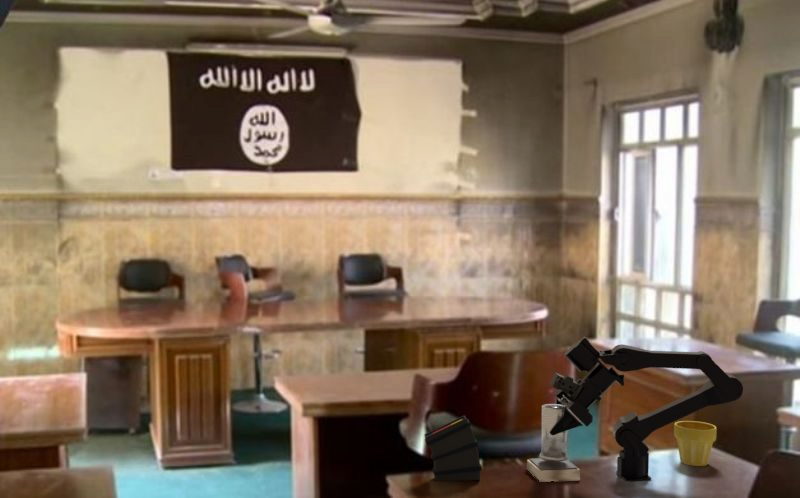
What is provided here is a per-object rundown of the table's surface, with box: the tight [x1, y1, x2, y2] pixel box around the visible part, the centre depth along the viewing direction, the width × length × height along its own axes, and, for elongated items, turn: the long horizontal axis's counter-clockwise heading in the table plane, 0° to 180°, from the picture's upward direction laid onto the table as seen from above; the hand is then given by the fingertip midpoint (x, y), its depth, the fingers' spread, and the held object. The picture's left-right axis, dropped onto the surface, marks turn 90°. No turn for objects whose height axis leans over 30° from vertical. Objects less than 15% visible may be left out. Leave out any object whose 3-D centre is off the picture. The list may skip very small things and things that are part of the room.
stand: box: [526, 457, 581, 483], centre depth 220 cm, size 10×10×3 cm
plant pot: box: [673, 420, 718, 467], centre depth 232 cm, size 10×10×10 cm
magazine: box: [424, 415, 483, 482], centre depth 216 cm, size 4×13×15 cm, turn 94°
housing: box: [539, 403, 569, 462], centre depth 220 cm, size 7×7×12 cm
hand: (548, 430), depth 220 cm, fingers closed on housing, 6 cm apart
